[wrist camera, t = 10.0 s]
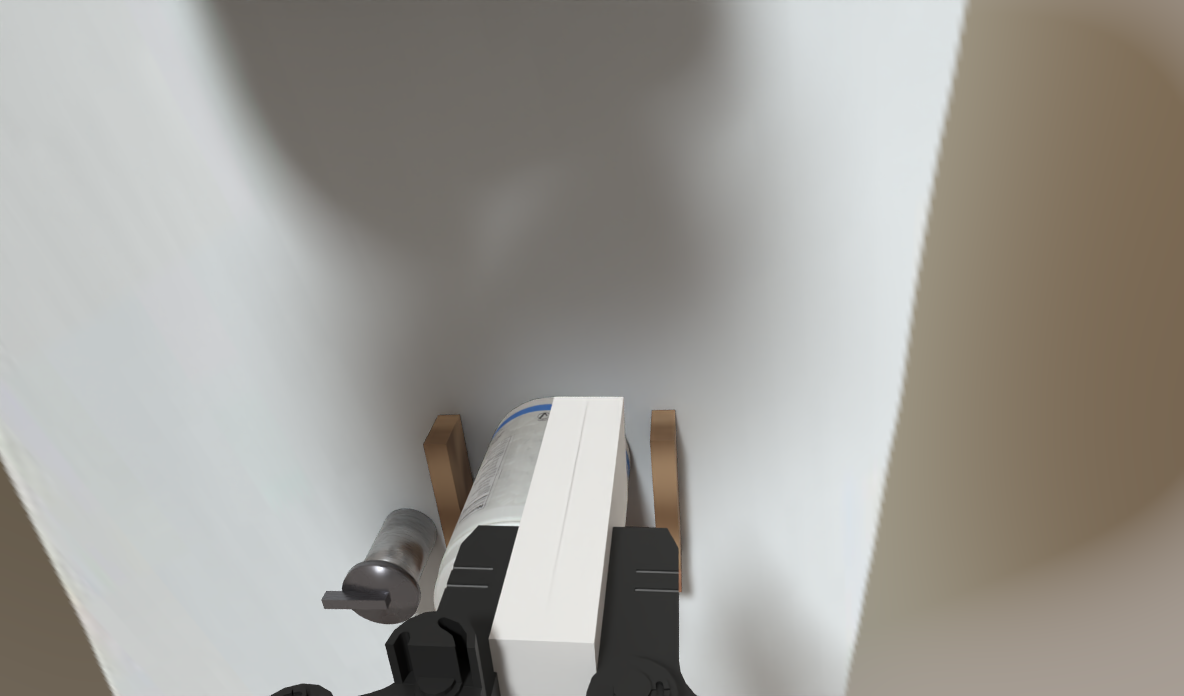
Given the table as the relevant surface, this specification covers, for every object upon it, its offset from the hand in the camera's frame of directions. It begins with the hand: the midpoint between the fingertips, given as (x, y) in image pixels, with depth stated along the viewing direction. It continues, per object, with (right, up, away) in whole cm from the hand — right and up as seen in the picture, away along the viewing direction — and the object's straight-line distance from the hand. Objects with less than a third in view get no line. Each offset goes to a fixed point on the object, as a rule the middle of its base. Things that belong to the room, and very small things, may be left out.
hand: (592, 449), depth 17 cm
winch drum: (-14, -11, +40) cm, 44 cm away
